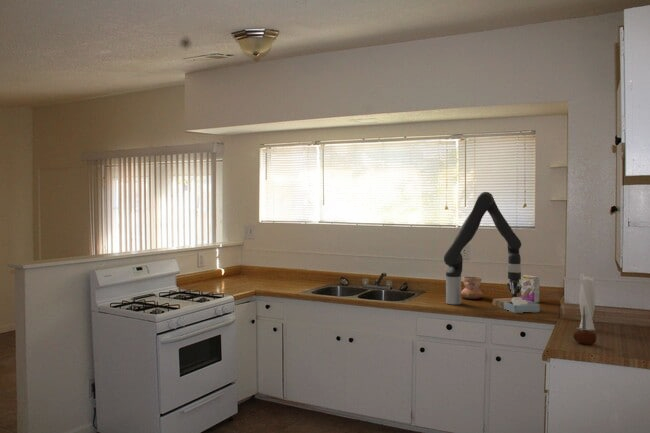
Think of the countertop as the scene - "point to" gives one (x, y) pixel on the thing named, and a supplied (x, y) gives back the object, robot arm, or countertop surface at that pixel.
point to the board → (501, 302)
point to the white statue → (587, 303)
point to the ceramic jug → (471, 287)
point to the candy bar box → (530, 288)
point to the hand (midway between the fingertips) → (514, 299)
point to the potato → (585, 337)
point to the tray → (522, 307)
